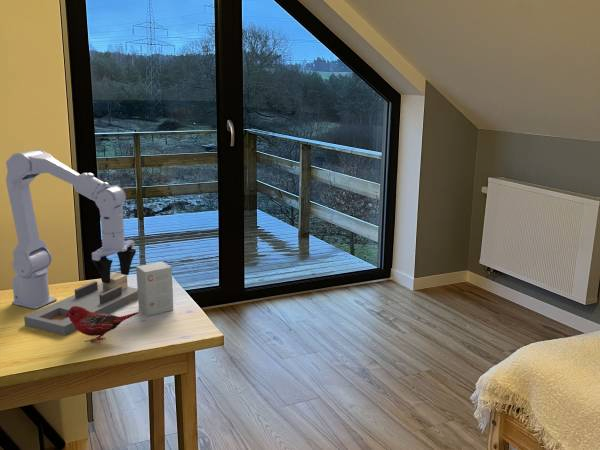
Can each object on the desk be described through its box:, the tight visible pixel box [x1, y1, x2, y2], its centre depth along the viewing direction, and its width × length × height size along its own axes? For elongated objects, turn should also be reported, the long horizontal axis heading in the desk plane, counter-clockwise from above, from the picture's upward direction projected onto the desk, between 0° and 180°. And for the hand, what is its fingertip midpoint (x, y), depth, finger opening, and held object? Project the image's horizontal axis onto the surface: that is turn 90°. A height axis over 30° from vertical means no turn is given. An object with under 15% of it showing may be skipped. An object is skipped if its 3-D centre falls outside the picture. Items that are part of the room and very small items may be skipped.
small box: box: [135, 261, 174, 317], centre depth 165 cm, size 8×6×13 cm
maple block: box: [101, 272, 129, 291], centre depth 174 cm, size 5×5×4 cm
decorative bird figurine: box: [64, 306, 140, 343], centre depth 145 cm, size 3×18×10 cm, turn 114°
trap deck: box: [23, 280, 138, 336], centre depth 164 cm, size 14×30×5 cm, turn 156°
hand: (115, 278), depth 162 cm, fingers open, 7 cm apart
